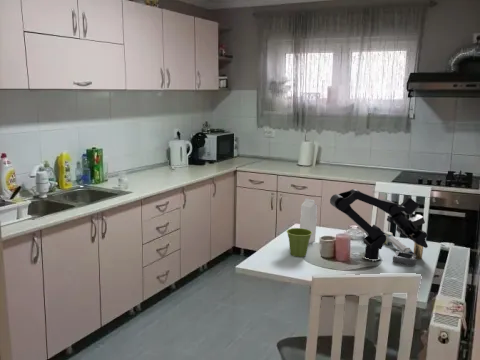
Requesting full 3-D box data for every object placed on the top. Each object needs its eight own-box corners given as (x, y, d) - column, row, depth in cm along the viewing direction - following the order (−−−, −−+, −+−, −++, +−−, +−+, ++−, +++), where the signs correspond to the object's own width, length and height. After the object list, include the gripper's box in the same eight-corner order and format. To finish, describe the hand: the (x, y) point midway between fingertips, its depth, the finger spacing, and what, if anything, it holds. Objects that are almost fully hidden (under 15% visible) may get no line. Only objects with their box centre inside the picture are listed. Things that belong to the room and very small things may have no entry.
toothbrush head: (406, 251, 220) (382, 228, 243) (403, 264, 222) (380, 240, 245) (416, 251, 221) (391, 228, 244) (413, 263, 223) (389, 240, 246)
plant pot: (291, 248, 228) (293, 226, 226) (314, 253, 223) (316, 230, 220) (280, 255, 218) (282, 232, 216) (304, 261, 213) (306, 237, 210)
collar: (413, 266, 211) (413, 260, 210) (392, 262, 215) (393, 256, 214) (415, 260, 219) (416, 254, 218) (396, 256, 223) (396, 250, 222)
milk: (308, 243, 237) (311, 201, 232) (298, 241, 241) (301, 199, 236) (315, 241, 241) (318, 199, 237) (305, 238, 245) (308, 197, 241)
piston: (419, 260, 220) (422, 234, 217) (411, 257, 223) (413, 232, 220) (423, 258, 222) (426, 232, 220) (415, 255, 225) (418, 230, 223)
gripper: (426, 215, 208) (445, 238, 212) (404, 204, 226) (423, 226, 230) (407, 232, 208) (427, 255, 212) (387, 220, 226) (406, 242, 230)
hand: (421, 244), depth 221 cm, fingers open, 9 cm apart
